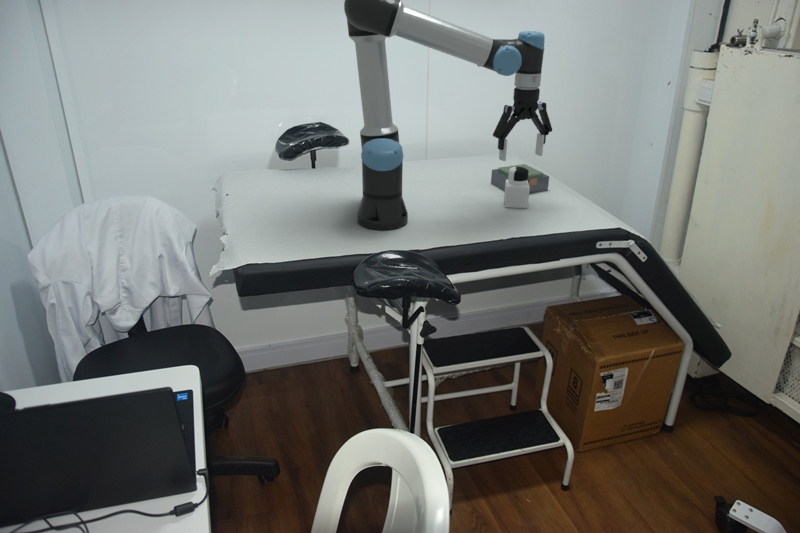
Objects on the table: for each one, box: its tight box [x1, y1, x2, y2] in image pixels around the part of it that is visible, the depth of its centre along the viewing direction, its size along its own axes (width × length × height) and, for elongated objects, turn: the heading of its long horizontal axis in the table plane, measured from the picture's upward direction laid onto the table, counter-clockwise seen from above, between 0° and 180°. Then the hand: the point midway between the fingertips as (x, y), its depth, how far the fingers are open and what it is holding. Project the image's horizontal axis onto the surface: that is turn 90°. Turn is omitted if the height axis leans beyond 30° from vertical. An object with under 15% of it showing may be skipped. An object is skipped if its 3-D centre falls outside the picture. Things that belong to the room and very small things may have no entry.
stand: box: [490, 163, 550, 194], centre depth 212 cm, size 14×15×6 cm
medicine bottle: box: [503, 167, 530, 209], centre depth 195 cm, size 7×7×12 cm
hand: (520, 157), depth 191 cm, fingers open, 13 cm apart
